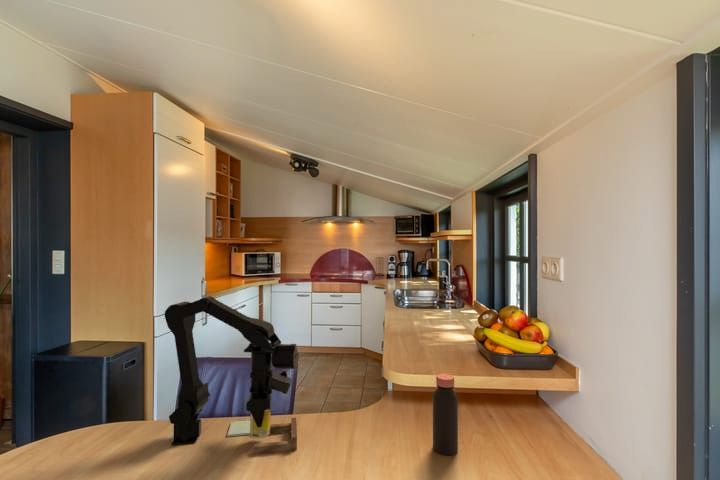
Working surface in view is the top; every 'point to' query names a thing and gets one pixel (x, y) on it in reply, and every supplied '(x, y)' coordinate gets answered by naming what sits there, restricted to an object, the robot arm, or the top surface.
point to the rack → (281, 445)
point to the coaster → (239, 428)
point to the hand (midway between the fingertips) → (260, 422)
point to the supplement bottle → (264, 429)
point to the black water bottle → (445, 416)
